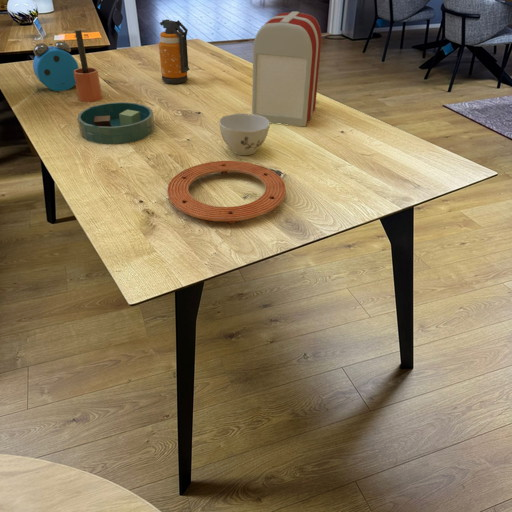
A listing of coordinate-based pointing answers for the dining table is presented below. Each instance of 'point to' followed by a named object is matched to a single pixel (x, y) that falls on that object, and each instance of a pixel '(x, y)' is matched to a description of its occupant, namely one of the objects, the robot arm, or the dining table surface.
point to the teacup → (244, 132)
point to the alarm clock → (55, 66)
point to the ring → (192, 207)
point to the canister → (173, 52)
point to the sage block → (129, 117)
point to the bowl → (115, 123)
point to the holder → (88, 85)
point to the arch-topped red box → (286, 68)
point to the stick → (81, 51)
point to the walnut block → (102, 121)
